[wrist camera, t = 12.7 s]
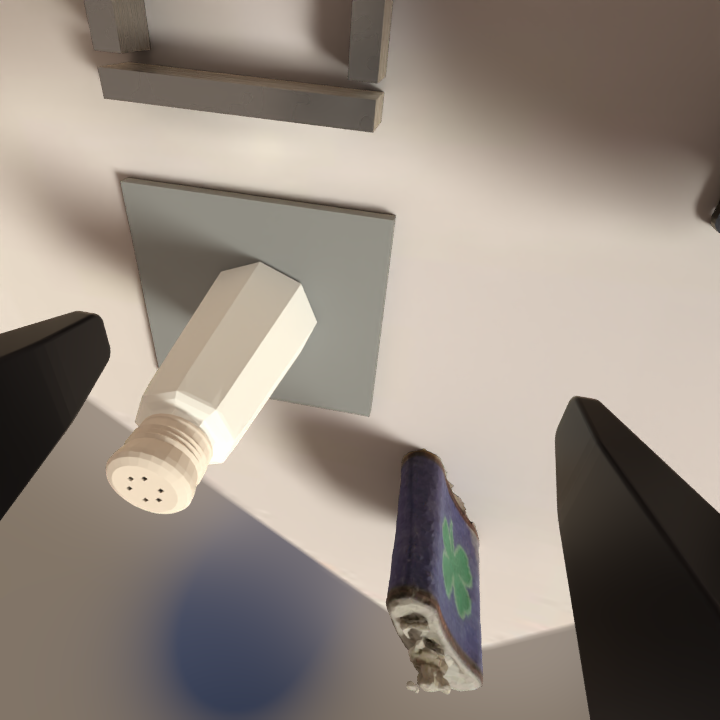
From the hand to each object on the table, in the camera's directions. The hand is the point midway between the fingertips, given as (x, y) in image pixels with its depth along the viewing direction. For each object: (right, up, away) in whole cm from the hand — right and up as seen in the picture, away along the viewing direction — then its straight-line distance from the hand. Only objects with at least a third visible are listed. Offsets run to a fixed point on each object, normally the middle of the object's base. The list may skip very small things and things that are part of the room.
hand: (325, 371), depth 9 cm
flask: (+6, -8, +21) cm, 24 cm away
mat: (-4, +3, +15) cm, 16 cm away
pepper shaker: (-4, +3, +15) cm, 15 cm away
